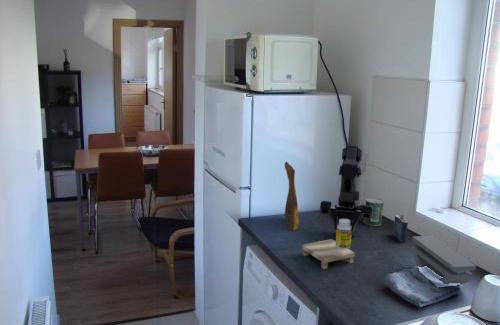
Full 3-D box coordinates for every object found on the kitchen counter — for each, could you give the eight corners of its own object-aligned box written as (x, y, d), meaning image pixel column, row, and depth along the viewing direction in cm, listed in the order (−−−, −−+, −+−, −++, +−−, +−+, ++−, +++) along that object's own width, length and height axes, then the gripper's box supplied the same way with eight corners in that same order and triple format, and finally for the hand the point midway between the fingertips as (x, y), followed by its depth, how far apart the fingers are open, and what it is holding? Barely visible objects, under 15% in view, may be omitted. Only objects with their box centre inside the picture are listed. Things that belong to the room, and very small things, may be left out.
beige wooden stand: (301, 254, 174) (302, 244, 173) (331, 248, 180) (331, 239, 179) (323, 269, 162) (324, 259, 161) (354, 262, 168) (355, 252, 167)
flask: (391, 234, 197) (394, 211, 195) (397, 234, 198) (400, 210, 195) (401, 242, 188) (404, 218, 186) (408, 242, 189) (411, 218, 186)
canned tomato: (360, 221, 212) (362, 198, 210) (373, 219, 216) (375, 197, 213) (371, 226, 205) (373, 203, 203) (384, 224, 209) (387, 202, 206)
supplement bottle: (339, 250, 163) (340, 223, 161) (333, 244, 168) (334, 218, 166) (353, 249, 164) (354, 222, 162) (347, 243, 170) (348, 217, 167)
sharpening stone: (471, 296, 147) (476, 265, 144) (449, 298, 145) (454, 267, 143) (428, 262, 171) (431, 235, 168) (409, 263, 169) (412, 236, 167)
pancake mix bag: (283, 232, 196) (287, 169, 189) (281, 217, 214) (284, 159, 208) (299, 232, 196) (303, 170, 189) (295, 217, 214) (299, 159, 208)
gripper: (322, 179, 167) (317, 218, 159) (374, 184, 162) (372, 224, 155) (322, 193, 176) (318, 230, 168) (372, 198, 172) (369, 237, 164)
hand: (343, 230), depth 164 cm, fingers closed on supplement bottle, 5 cm apart
